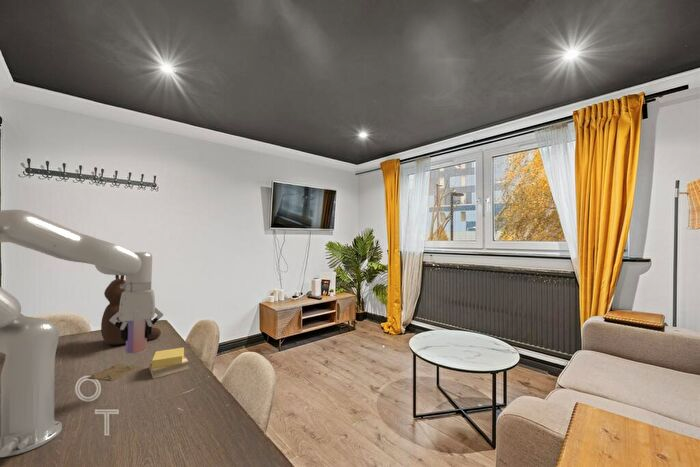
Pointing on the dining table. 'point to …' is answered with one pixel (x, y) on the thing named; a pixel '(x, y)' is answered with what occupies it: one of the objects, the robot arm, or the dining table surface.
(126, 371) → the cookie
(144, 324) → the beverage can
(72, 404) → the dining table surface
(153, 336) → the stuffed bear
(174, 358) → the tower top
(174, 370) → the tower base
